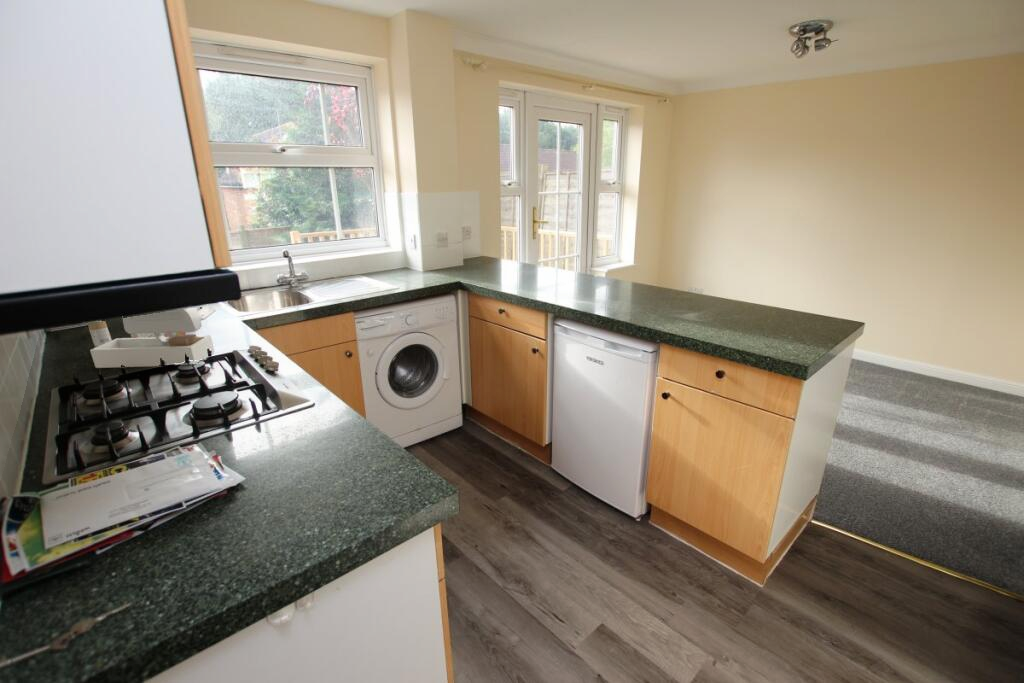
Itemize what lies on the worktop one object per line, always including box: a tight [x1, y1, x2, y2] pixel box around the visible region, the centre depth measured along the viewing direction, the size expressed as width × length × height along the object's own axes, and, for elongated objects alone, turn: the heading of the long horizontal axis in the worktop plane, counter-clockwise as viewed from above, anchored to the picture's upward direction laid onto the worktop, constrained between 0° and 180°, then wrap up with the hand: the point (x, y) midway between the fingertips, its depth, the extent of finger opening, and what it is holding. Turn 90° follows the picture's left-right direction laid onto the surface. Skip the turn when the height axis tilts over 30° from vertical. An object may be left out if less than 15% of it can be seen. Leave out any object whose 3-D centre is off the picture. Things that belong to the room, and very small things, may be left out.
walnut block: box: [168, 333, 198, 346], centre depth 140 cm, size 5×5×4 cm
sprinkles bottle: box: [87, 320, 113, 348], centre depth 145 cm, size 5×5×13 cm
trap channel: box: [89, 335, 215, 369], centre depth 141 cm, size 28×10×6 cm, turn 93°
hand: (168, 346), depth 140 cm, fingers closed
